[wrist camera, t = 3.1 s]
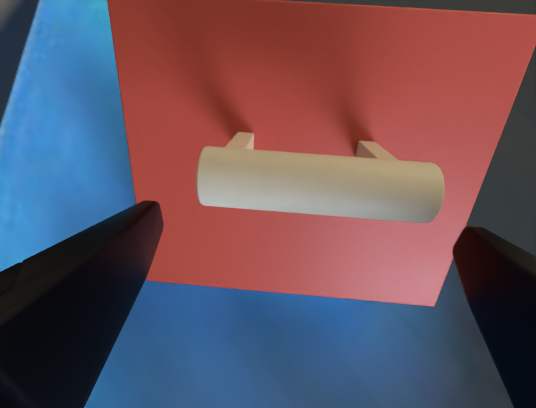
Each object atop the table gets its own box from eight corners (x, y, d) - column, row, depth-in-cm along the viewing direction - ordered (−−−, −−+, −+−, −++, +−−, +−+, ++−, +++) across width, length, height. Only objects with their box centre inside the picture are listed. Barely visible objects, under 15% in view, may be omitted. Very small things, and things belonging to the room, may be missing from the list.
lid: (115, -6, 11) (-76, -94, 5) (532, 18, 10) (832, -51, 5) (151, 273, 16) (77, 381, 11) (428, 297, 16) (509, 425, 10)
